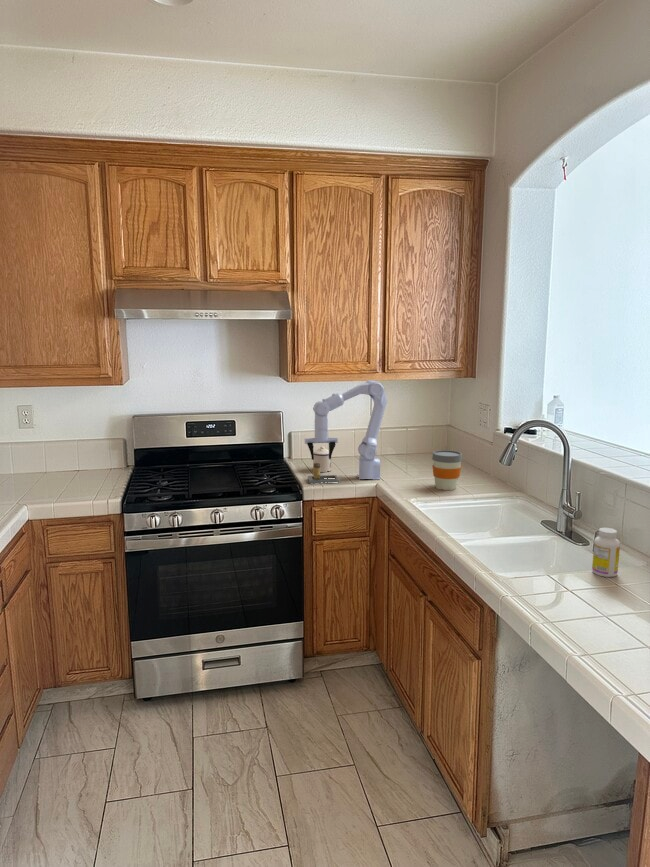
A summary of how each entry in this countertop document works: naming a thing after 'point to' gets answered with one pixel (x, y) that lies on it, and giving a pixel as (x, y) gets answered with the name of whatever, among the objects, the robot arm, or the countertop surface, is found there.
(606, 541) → the supplement bottle
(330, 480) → the keyhole plate
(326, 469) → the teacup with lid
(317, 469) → the peg
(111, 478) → the countertop surface
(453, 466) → the reusable coffee cup
